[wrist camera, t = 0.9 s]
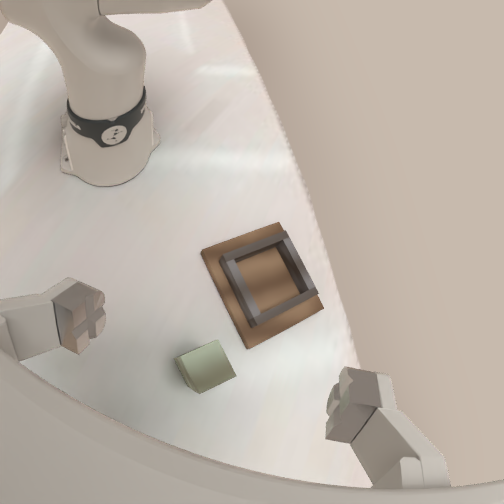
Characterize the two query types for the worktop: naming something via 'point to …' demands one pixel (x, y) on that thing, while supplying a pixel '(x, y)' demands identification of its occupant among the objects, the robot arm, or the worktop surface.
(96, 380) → the worktop surface
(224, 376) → the green peg
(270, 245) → the display stand
